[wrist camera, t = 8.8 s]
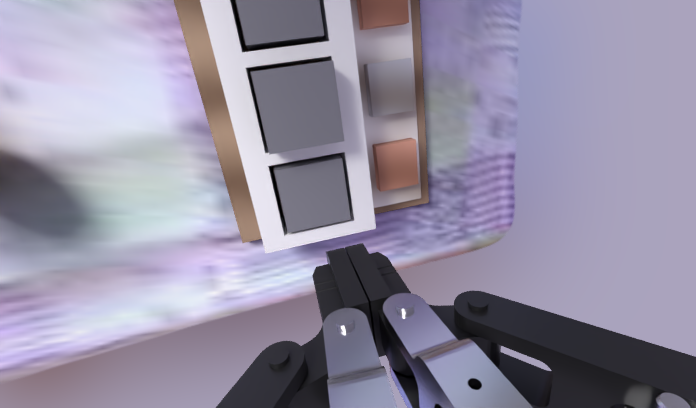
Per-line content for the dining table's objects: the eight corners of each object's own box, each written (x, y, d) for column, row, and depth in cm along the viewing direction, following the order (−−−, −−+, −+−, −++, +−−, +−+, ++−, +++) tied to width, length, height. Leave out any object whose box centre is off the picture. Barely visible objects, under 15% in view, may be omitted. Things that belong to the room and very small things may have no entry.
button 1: (232, -28, 20) (224, -52, 17) (303, -35, 21) (310, -59, 17) (249, 51, 22) (245, 45, 18) (315, 42, 23) (324, 35, 19)
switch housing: (195, -50, 20) (179, -79, 16) (327, -60, 21) (339, -90, 17) (266, 229, 27) (265, 253, 23) (361, 209, 28) (376, 228, 24)
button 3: (273, 157, 25) (274, 170, 21) (331, 146, 25) (342, 158, 22) (285, 211, 26) (288, 233, 23) (339, 200, 27) (350, 219, 23)
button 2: (253, 73, 21) (250, 71, 17) (322, 63, 22) (333, 60, 18) (269, 142, 23) (269, 154, 19) (332, 131, 23) (344, 141, 20)
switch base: (161, -55, 20) (149, -70, 18) (409, -74, 23) (423, -90, 21) (243, 237, 28) (241, 250, 26) (423, 198, 30) (435, 207, 28)
